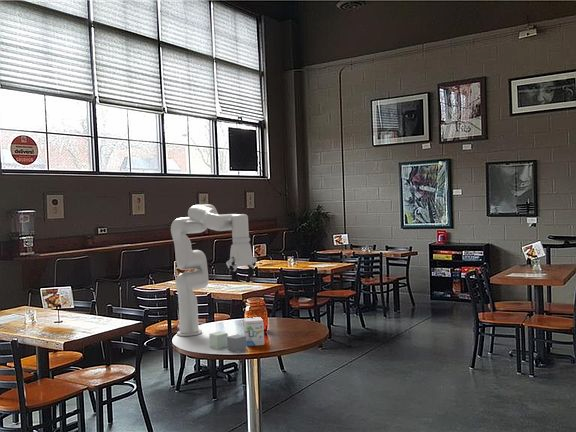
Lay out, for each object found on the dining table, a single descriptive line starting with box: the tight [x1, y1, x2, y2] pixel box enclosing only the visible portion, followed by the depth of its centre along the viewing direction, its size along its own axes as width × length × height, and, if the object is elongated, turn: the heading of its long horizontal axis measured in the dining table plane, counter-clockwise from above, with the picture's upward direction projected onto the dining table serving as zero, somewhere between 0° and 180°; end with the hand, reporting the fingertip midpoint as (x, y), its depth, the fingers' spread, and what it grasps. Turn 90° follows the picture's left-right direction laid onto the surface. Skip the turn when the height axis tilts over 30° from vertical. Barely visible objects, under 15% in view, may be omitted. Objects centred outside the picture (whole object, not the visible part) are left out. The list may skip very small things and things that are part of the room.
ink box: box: [243, 317, 265, 347], centre depth 268 cm, size 8×8×12 cm
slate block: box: [227, 333, 248, 353], centre depth 258 cm, size 6×6×6 cm
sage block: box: [208, 330, 229, 349], centre depth 266 cm, size 6×6×6 cm
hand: (242, 278), depth 263 cm, fingers open, 9 cm apart
